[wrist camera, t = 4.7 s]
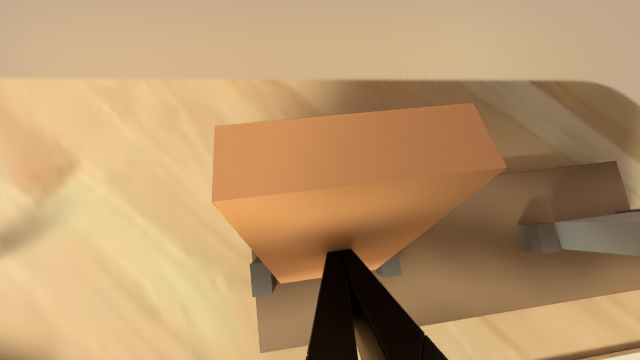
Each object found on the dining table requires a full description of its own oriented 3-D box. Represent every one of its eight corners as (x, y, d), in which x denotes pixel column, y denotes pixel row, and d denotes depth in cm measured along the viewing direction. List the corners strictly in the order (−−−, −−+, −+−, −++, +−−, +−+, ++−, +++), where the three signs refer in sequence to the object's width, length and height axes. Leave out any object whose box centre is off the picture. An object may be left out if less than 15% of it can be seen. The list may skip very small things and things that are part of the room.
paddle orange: (375, 269, 14) (507, 167, 5) (280, 283, 14) (211, 201, 4) (369, 241, 15) (473, 102, 5) (278, 254, 14) (214, 126, 5)
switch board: (634, 283, 18) (685, 292, 15) (262, 344, 15) (256, 366, 13) (599, 164, 19) (642, 155, 16) (251, 205, 17) (242, 202, 14)
